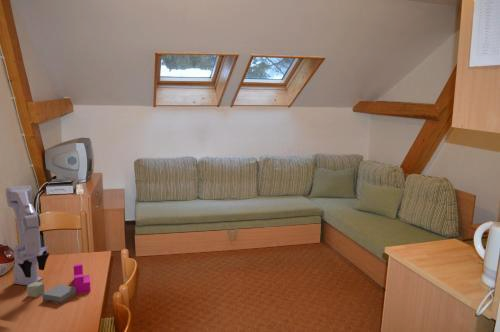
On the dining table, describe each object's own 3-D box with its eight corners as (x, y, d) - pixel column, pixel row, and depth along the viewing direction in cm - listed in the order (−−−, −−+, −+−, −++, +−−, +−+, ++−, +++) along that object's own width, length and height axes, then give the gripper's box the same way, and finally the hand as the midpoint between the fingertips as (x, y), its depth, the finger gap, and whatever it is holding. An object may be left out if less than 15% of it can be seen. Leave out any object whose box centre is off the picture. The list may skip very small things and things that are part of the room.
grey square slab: (43, 303, 164) (42, 298, 164) (58, 293, 173) (58, 288, 173) (61, 306, 162) (61, 301, 162) (76, 296, 171) (76, 291, 170)
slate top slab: (42, 298, 164) (42, 293, 164) (58, 288, 173) (58, 284, 172) (60, 301, 162) (60, 297, 161) (76, 291, 170) (75, 287, 170)
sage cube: (27, 296, 169) (26, 286, 168) (35, 291, 173) (35, 281, 172) (36, 297, 168) (35, 287, 167) (44, 292, 172) (43, 282, 171)
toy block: (90, 291, 174) (89, 275, 172) (74, 294, 171) (73, 278, 170) (88, 277, 187) (88, 262, 186) (74, 280, 185) (73, 264, 183)
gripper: (26, 249, 159) (29, 281, 161) (53, 238, 173) (55, 267, 175) (12, 248, 161) (15, 279, 163) (39, 236, 174) (41, 265, 177)
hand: (34, 273), depth 169 cm, fingers open, 7 cm apart
